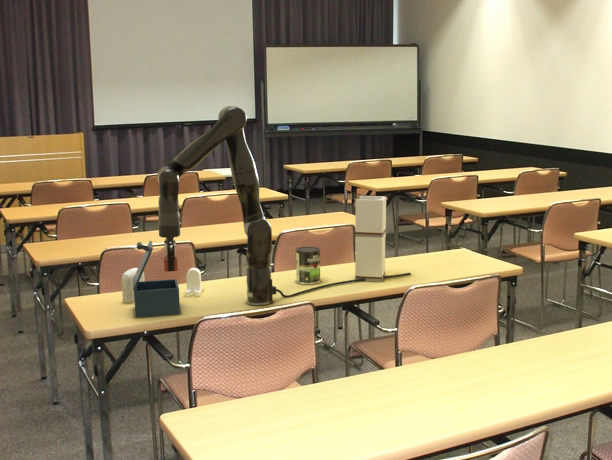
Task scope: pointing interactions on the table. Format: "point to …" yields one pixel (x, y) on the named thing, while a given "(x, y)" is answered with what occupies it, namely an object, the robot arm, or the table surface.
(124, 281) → the photo printer
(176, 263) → the block
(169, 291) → the box
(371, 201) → the tall white pillar box
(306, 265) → the coffee can
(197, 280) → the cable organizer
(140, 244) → the freezer lid
